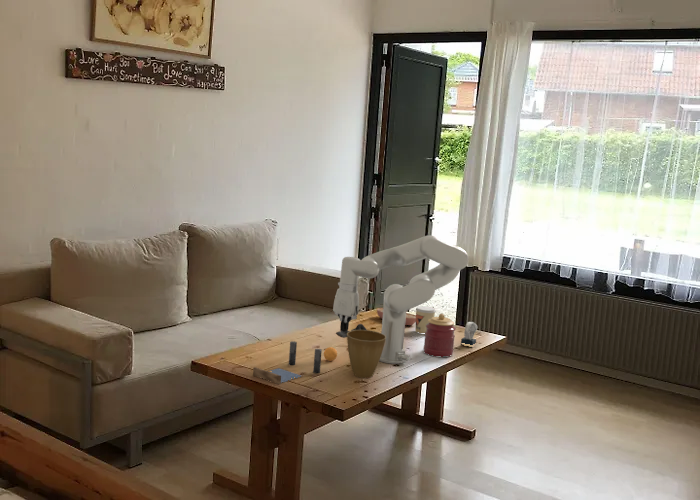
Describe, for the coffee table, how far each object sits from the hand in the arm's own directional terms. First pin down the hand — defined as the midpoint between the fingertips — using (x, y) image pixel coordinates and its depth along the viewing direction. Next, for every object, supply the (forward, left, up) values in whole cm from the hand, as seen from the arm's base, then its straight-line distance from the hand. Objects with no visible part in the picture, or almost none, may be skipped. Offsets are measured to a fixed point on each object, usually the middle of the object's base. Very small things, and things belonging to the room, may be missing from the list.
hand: (343, 330), depth 313 cm
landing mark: (-1, +39, -11) cm, 40 cm away
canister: (-24, -38, -11) cm, 46 cm away
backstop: (-1, +46, -11) cm, 47 cm away
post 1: (+6, +25, -11) cm, 28 cm away
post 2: (-7, +25, -11) cm, 28 cm away
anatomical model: (+19, -69, -11) cm, 72 cm away
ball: (-1, +9, -8) cm, 12 cm away
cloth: (+14, -33, -12) cm, 38 cm away
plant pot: (-21, +13, -11) cm, 27 cm away
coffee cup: (-1, -63, -11) cm, 64 cm away
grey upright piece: (-26, -61, -11) cm, 67 cm away
